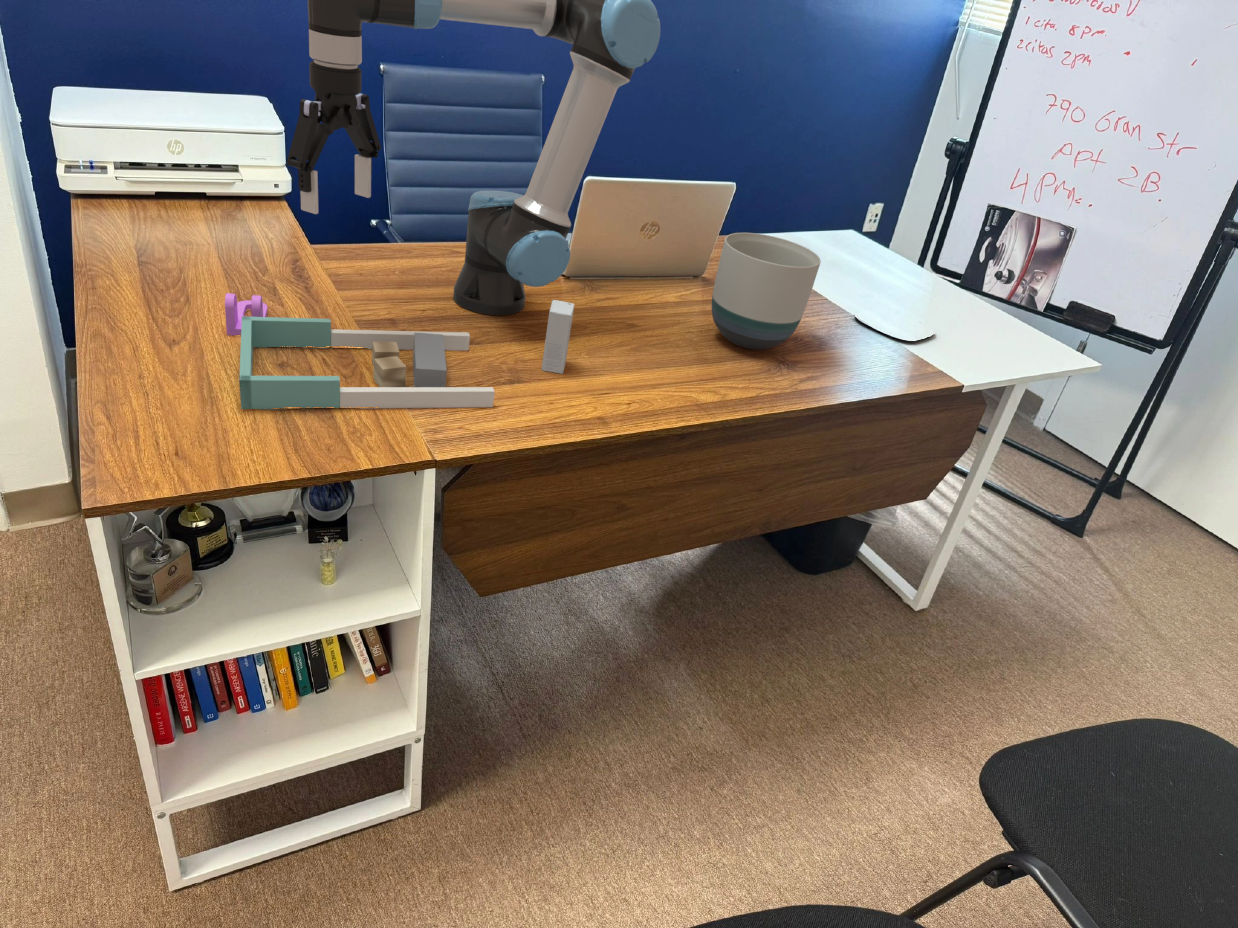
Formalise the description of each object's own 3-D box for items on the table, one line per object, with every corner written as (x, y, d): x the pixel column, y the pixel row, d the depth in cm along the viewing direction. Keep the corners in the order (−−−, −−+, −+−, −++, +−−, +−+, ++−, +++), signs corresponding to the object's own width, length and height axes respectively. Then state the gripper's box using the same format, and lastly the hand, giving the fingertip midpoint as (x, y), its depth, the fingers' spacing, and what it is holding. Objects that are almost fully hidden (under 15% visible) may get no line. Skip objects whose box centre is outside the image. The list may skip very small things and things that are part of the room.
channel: (467, 347, 160) (468, 332, 158) (492, 407, 142) (494, 391, 140) (330, 344, 151) (330, 329, 149) (340, 408, 133) (340, 391, 131)
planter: (739, 318, 199) (763, 229, 188) (809, 353, 188) (839, 261, 177) (682, 331, 185) (705, 236, 174) (754, 371, 174) (783, 272, 163)
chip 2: (396, 377, 145) (396, 356, 143) (405, 387, 143) (406, 366, 140) (373, 379, 143) (373, 358, 141) (382, 390, 140) (382, 369, 138)
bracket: (261, 337, 149) (259, 300, 145) (227, 335, 147) (224, 298, 143) (269, 308, 159) (267, 273, 156) (236, 306, 158) (234, 270, 154)
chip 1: (395, 362, 150) (396, 342, 148) (398, 373, 147) (399, 352, 144) (372, 362, 148) (372, 341, 146) (374, 372, 145) (375, 351, 143)
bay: (330, 344, 151) (330, 318, 148) (339, 408, 133) (339, 380, 130) (243, 343, 145) (241, 316, 143) (241, 409, 128) (239, 380, 125)
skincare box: (544, 357, 162) (552, 298, 156) (566, 361, 162) (575, 303, 156) (540, 370, 157) (548, 311, 151) (563, 374, 157) (572, 315, 151)
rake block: (440, 359, 154) (442, 334, 151) (444, 396, 143) (446, 370, 140) (412, 357, 153) (414, 332, 150) (414, 395, 141) (415, 368, 139)
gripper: (365, 54, 138) (364, 184, 150) (255, 62, 118) (264, 212, 129) (404, 64, 137) (400, 195, 148) (300, 74, 116) (305, 225, 128)
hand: (337, 203), depth 139 cm, fingers open, 13 cm apart
